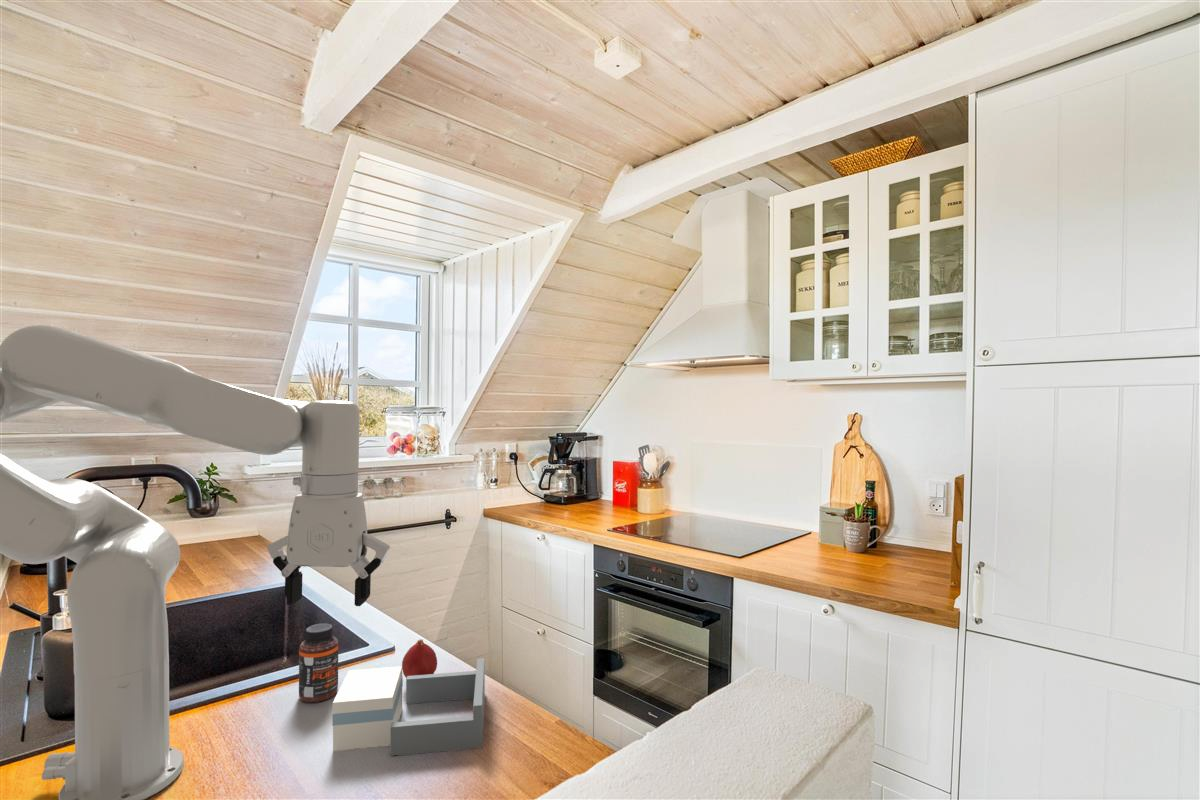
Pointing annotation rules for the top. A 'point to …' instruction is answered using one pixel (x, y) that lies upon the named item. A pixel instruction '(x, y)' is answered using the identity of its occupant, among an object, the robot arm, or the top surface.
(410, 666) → the onion
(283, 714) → the top surface
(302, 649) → the supplement bottle
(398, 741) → the bay
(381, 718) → the carton
